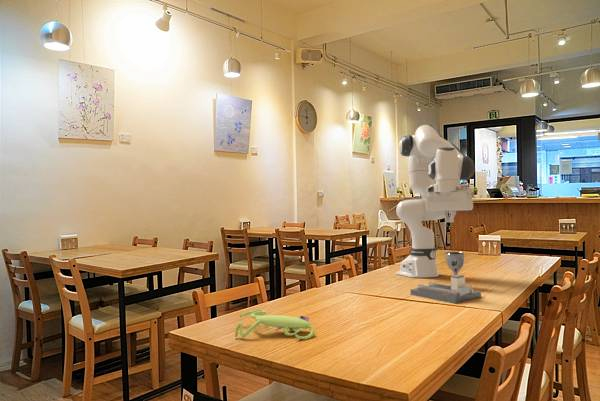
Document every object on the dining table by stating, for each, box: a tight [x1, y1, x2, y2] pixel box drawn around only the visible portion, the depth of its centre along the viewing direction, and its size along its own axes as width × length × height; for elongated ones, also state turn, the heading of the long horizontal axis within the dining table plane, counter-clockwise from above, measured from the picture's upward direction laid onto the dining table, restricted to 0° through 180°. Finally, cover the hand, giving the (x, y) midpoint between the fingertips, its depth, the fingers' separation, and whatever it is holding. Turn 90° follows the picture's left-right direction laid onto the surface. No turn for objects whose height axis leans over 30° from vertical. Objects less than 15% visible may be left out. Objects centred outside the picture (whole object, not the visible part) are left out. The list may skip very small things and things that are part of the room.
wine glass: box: [445, 251, 466, 286], centre depth 198 cm, size 8×8×15 cm
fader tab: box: [450, 273, 466, 291], centre depth 176 cm, size 3×5×7 cm, turn 124°
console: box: [410, 281, 482, 304], centre depth 181 cm, size 22×16×5 cm
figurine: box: [234, 309, 316, 340], centre depth 142 cm, size 18×27×6 cm
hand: (449, 222), depth 178 cm, fingers closed
